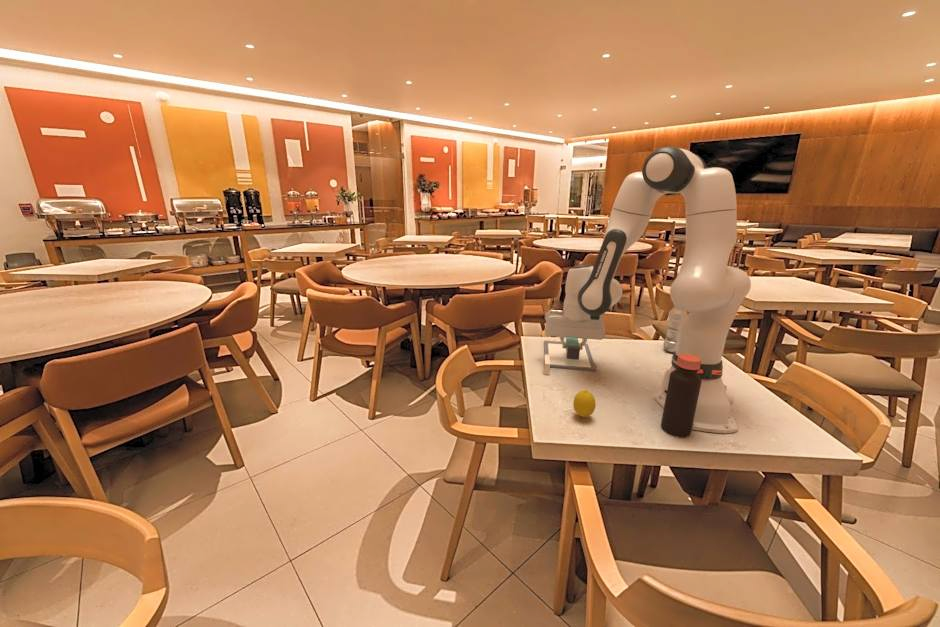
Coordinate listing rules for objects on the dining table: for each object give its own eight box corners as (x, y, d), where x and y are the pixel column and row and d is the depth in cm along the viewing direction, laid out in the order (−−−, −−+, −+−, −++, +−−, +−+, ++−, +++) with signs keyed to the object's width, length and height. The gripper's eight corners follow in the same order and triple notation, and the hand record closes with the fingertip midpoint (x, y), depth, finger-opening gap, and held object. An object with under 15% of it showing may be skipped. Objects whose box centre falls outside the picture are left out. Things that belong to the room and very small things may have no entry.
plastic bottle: (664, 353, 143) (672, 302, 137) (660, 347, 149) (669, 298, 143) (682, 355, 141) (692, 304, 135) (679, 349, 147) (688, 299, 141)
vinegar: (660, 433, 94) (673, 359, 88) (660, 420, 100) (673, 350, 94) (691, 441, 91) (707, 365, 85) (689, 426, 97) (704, 355, 91)
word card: (549, 375, 124) (550, 364, 123) (544, 374, 124) (545, 363, 123) (548, 365, 132) (549, 354, 131) (543, 364, 132) (544, 354, 131)
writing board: (595, 371, 127) (596, 368, 127) (544, 367, 130) (545, 364, 130) (587, 345, 150) (587, 343, 150) (543, 342, 153) (544, 340, 152)
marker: (578, 359, 128) (579, 348, 127) (566, 358, 129) (567, 347, 128) (576, 345, 141) (577, 335, 139) (564, 344, 141) (565, 334, 140)
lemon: (570, 411, 103) (572, 385, 101) (590, 411, 103) (593, 385, 100) (574, 422, 98) (577, 395, 95) (596, 423, 98) (599, 395, 95)
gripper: (545, 311, 128) (542, 349, 132) (608, 316, 124) (603, 354, 129) (545, 306, 134) (542, 342, 138) (605, 310, 130) (600, 347, 135)
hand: (572, 348), depth 133 cm, fingers closed on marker, 4 cm apart
